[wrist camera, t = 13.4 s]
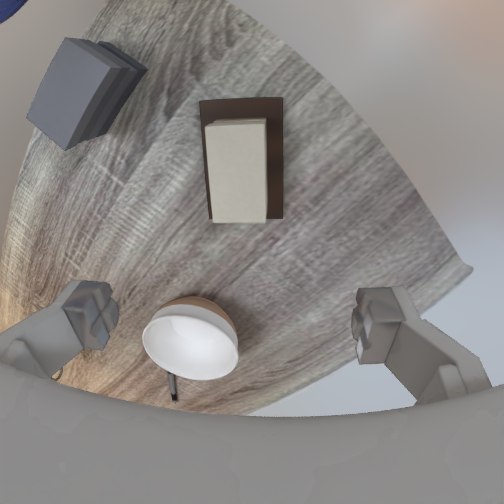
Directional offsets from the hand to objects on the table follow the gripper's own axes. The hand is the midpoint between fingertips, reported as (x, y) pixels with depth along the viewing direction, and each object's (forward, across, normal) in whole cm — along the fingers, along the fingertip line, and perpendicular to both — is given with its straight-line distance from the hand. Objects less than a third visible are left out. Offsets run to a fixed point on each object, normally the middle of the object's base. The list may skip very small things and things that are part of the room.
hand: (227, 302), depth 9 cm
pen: (+31, +22, +54) cm, 66 cm away
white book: (+26, +3, +3) cm, 26 cm away
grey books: (+31, +21, -9) cm, 39 cm away
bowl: (+31, +12, +31) cm, 46 cm away
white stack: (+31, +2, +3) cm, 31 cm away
